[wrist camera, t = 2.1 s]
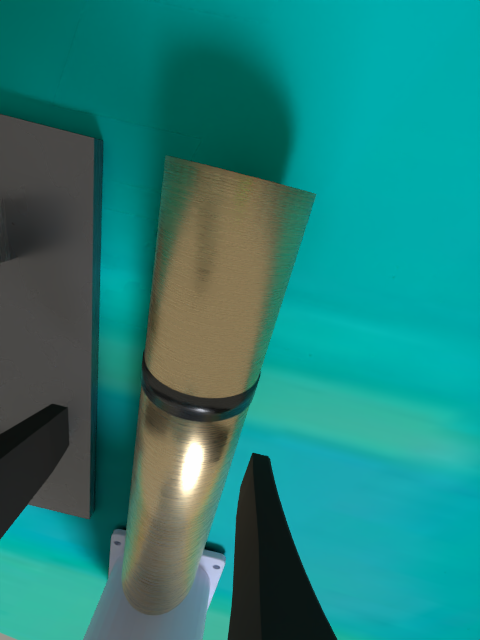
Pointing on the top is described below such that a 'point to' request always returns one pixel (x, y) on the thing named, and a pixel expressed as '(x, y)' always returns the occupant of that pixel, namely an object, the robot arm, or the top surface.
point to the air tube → (202, 361)
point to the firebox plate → (51, 294)
